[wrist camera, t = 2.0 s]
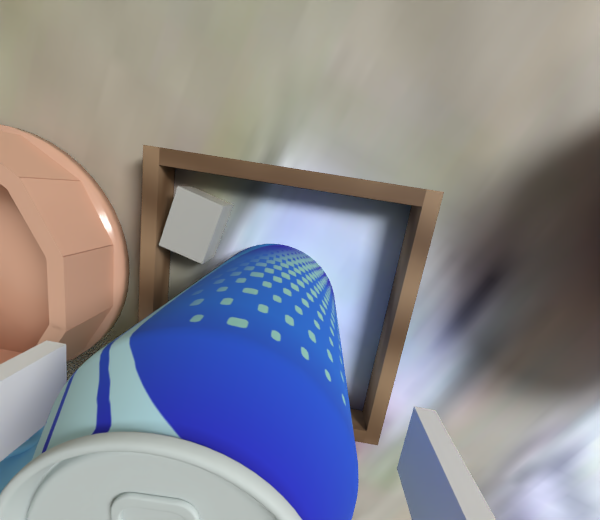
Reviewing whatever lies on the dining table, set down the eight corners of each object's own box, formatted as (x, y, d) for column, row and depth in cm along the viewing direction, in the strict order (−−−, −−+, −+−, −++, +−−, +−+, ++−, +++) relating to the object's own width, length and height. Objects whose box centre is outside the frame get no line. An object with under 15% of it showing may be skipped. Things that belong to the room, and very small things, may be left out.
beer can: (358, 299, 21) (478, 619, 5) (277, 370, 22) (180, 776, 7) (273, 215, 20) (99, 288, 4) (196, 296, 21) (-135, 566, 6)
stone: (194, 186, 20) (177, 185, 18) (234, 204, 20) (223, 206, 18) (176, 239, 21) (158, 245, 18) (215, 256, 21) (202, 264, 19)
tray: (161, 150, 19) (143, 144, 17) (430, 192, 19) (443, 192, 17) (151, 383, 23) (135, 400, 21) (372, 423, 23) (377, 445, 21)
